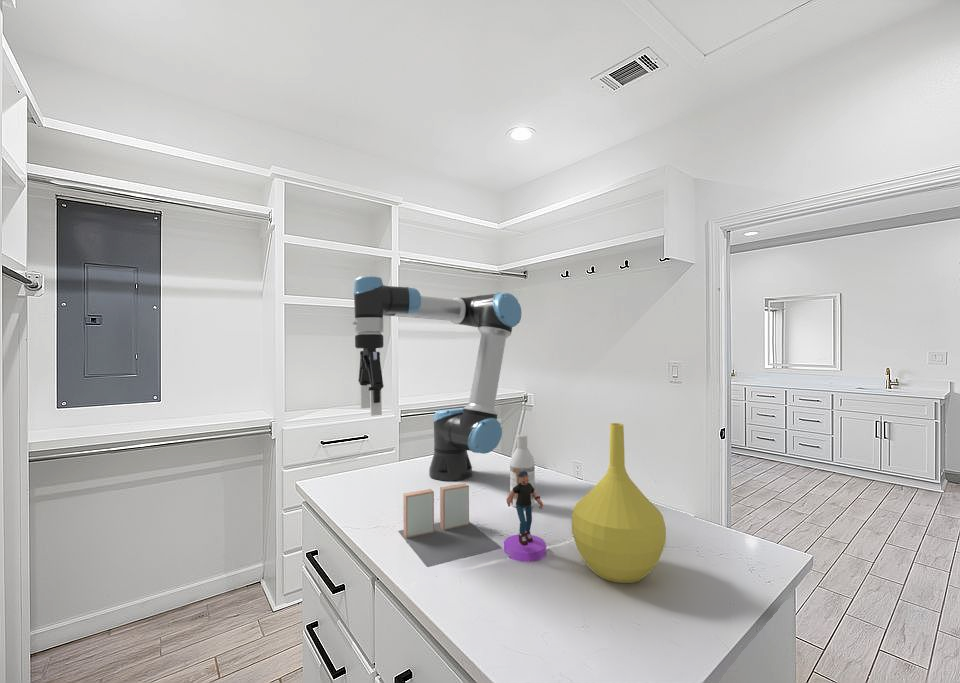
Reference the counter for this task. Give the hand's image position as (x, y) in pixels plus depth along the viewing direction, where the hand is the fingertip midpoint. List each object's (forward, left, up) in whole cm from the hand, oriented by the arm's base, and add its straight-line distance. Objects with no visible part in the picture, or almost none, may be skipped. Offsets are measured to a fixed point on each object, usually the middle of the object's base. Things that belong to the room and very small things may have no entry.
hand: (370, 411), depth 122 cm
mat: (-12, +25, -28) cm, 39 cm away
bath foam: (-40, +14, -28) cm, 51 cm away
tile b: (-7, +19, -27) cm, 34 cm away
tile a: (-16, +19, -27) cm, 37 cm away
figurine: (-25, +38, -28) cm, 54 cm away
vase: (-37, +54, -28) cm, 71 cm away
